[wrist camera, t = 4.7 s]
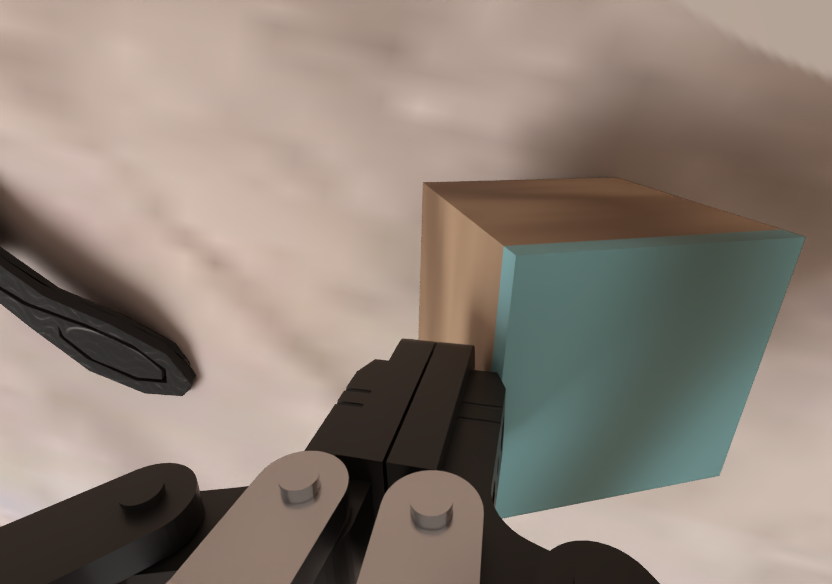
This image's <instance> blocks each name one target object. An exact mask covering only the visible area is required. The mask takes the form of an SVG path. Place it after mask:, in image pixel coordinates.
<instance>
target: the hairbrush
mask: <svg viewBox="0 0 832 584" xmlns="http://www.w3.org/2000/svg"><path fill="white" fill-rule="evenodd" d="M0 304H2V305H3V306H4V307H5V308H7V309H8V310H9V311H10V312H12V313H13V314H14V315H16V316H17V317H18V318H19V319H21V320H22V321H23V322H24V323H26V324H27V325H28V326H29V327H31V328H32V329H33V330H35V331H36V332H37V333H39V334H40V335H41V336H43V337H44V338H46V339H47V340H48V341H50V342H51V343H52V344H54V345H55V346H56V347H58V348H59V349H61V350H62V351H63V352H65V353H66V354H67V355H69V356H70V357H71V358H73V359H74V360H76V361H77V362H78V363H80V364H81V365H82V366H84V367H85V368H86V369H88V370H89V371H91V372H94V373H96V374H99V375H101V376H104V377H106V378H109V379H111V380H113V381H116V382H118V383H121V384H123V385H126V386H128V387H131V388H133V389H136V390H138V391H140V392H143V393H147V394H161V395H175V396H183V395H184V394H185V393H186V392H187V391H189V390H190V388H191V386H192V383H193V381H194V378H195V376H196V375H195V373H194V371H193V370H192V369H191V368H190V367H189V366H188V365H187V364H186V363H185V362H184V361H183V360H182V359H181V358H180V357H179V356H178V355H177V354H176V353H175V352H177V353H178V354H180V355H181V356H182V357H184V358H185V359H187V358H186V357H185V355H184V354H183V353H182V351H181V350H180V349H179V347H178V346H177V345H176V344H175V343H173V342H172V341H170V340H168V339H166V338H164V337H162V336H161V335H159V334H157V333H155V332H153V331H151V330H150V329H148V328H146V327H144V326H142V325H140V324H139V323H137V322H135V321H133V320H131V319H129V318H127V317H126V316H124V315H121V314H119V313H117V312H114V311H112V310H110V309H107V308H105V307H103V306H100V305H98V304H96V303H93V302H91V301H89V300H86V299H84V298H82V297H79V296H77V295H75V294H72V293H70V292H68V291H65V290H63V289H61V288H59V287H57V286H56V285H54V284H53V283H51V282H50V281H49V280H47V279H46V278H44V277H43V276H41V275H40V274H39V273H37V272H36V271H34V270H33V269H31V268H30V267H29V266H27V265H26V264H24V263H23V262H21V261H20V260H19V259H17V258H16V257H14V256H13V255H11V254H10V253H9V252H7V251H6V250H4V249H3V248H1V247H0ZM173 350H174V351H175V352H174V351H173ZM187 361H188V360H187ZM188 363H189V361H188ZM189 365H190V363H189Z"/></svg>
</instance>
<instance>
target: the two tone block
mask: <svg viewBox="0 0 832 584" xmlns="http://www.w3.org/2000/svg"><path fill="white" fill-rule="evenodd" d="M805 238H806V237H804V236H801V235H798V234H795V233H792V232H788V231H785V230H782V229H779V228H776V227H773V226H769V225H766V224H763V223H760V222H757V221H753V220H750V219H747V218H744V217H741V216H737V215H734V214H731V213H728V212H725V211H722V210H718V209H715V208H712V207H709V206H706V205H702V204H699V203H696V202H693V201H690V200H686V199H683V198H680V197H677V196H674V195H671V194H667V193H664V192H661V191H658V190H655V189H651V188H648V187H645V186H642V185H639V184H635V183H632V182H629V181H626V180H623V179H620V178H576V179H538V180H500V181H461V182H423V202H422V237H421V272H420V306H419V340H424V341H434V342H446V343H456V344H466V345H474V347H475V370H480V371H489V372H497V373H498V375H499V377H500V378H501V380H502V382H503V384H504V386H505V388H506V397H505V418H504V438H503V454H502V461H501V469H500V477H499V484H498V491H497V500H496V507H495V509H496V511H497V512H498V514H499V516H500V517H501V519H502V518H507V517H512V516H517V515H522V514H527V513H532V512H538V511H543V510H548V509H553V508H558V507H563V506H568V505H573V504H578V503H583V502H588V501H593V500H599V499H604V498H609V497H614V496H619V495H624V494H629V493H634V492H639V491H644V490H649V489H654V488H659V487H665V486H670V485H675V484H680V483H685V482H690V481H695V480H700V479H705V478H710V477H715V476H719V475H720V472H721V470H722V467H723V464H724V461H725V459H726V456H727V453H728V450H729V448H730V445H731V442H732V439H733V437H734V434H735V431H736V428H737V426H738V423H739V420H740V417H741V414H742V412H743V409H744V406H745V403H746V401H747V398H748V395H749V392H750V390H751V387H752V384H753V381H754V379H755V376H756V373H757V370H758V368H759V365H760V362H761V359H762V357H763V354H764V351H765V348H766V346H767V343H768V340H769V337H770V334H771V332H772V329H773V326H774V323H775V321H776V318H777V315H778V312H779V310H780V307H781V304H782V301H783V299H784V296H785V293H786V290H787V288H788V285H789V282H790V279H791V277H792V274H793V271H794V268H795V265H796V263H797V260H798V257H799V254H800V252H801V249H802V246H803V243H804V241H805Z"/></svg>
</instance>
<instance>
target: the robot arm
mask: <svg viewBox="0 0 832 584" xmlns="http://www.w3.org/2000/svg"><path fill="white" fill-rule="evenodd" d="M505 397H506V388H505V386H504V384H503V382H502V380H501V378H500V377H499V375H498V373H497V372H489V371H480V370H475V347H474V345H466V344H456V343H446V342H434V341H424V340H413V339H401V341H400V342H399V344H398V346H397V347H396V349H395V351H394V353H393V354H392V356H391V358H390V360H389V361H386V360H377V359H375V360H373V361H372V362H370V363H369V364H367V365H366V366H365V367H363V368H362V369H360V370H359V371H357V372H356V374H355V375H354V377H353V378H352V380H351V381H350V383H349V384H348V386H347V387H346V391H344V392H343V393H342V395H341V396H340V398H339V399H338V403H337V404H335V405H334V407H333V408H332V410H331V411H330V413H329V414H328V416H327V417H326V419H325V420H324V422H323V424H322V425H321V427H320V428H319V430H318V431H317V433H316V434H315V436H314V437H313V439H312V440H311V442H310V443H309V445H308V446H307V448H306V449H305V451H301V452H297V453H292V454H289V455H286V456H284V457H282V458H280V459H278V460H276V461H274V462H273V463H271V464H270V465H268V466H267V467H266V468H265V469H264V470H263V471H262V472H261V473H260V474H259V475H258V476H257V477H256V478H255V480H254V481H253V482H252V483H251V484H250V485H249V486H246V487H238V488H228V489H217V490H207V491H200V490H199V486H198V482H197V479H196V476H195V474H194V472H193V471H192V470H191V469H189V468H188V467H186V466H184V465H180V464H176V463H161V464H155V465H150V466H147V467H143V468H141V469H138V470H135V471H133V472H130V473H128V474H126V475H123V476H121V477H118V478H116V479H114V480H111V481H109V482H107V483H104V484H102V485H99V486H97V487H95V488H92V489H90V490H88V491H85V492H83V493H80V494H78V495H76V496H73V497H71V498H69V499H66V500H64V501H61V502H59V503H57V504H54V505H52V506H50V507H47V508H45V509H42V510H40V511H38V512H35V513H33V514H31V515H28V516H26V517H23V518H21V519H19V520H16V521H14V522H11V523H9V524H7V525H4V526H2V527H0V584H660V583H659V582H658V581H657V580H656V579H655V578H654V577H653V576H652V575H651V574H650V573H649V572H648V571H647V570H646V569H645V568H644V567H643V566H642V565H641V564H640V563H638V562H637V561H636V560H634V559H633V558H632V557H630V556H629V555H627V554H626V553H624V552H622V551H620V550H618V549H616V548H614V547H611V546H609V545H606V544H602V543H599V542H593V541H572V542H567V543H564V544H561V545H559V546H557V547H555V548H553V549H552V550H551V551H549V550H547V549H544V548H542V547H540V546H538V545H536V544H534V543H532V542H530V541H528V540H527V539H525V538H523V537H521V536H520V535H518V534H517V533H516V532H514V531H513V530H512V529H511V528H510V527H509V526H508V525H507V524H506V523H505V522H504V521H503V520H502V519H501V517H500V516H499V514H498V512H497V511H496V509H495V507H496V500H497V491H498V484H499V477H500V469H501V461H502V454H503V438H504V418H505Z"/></svg>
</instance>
